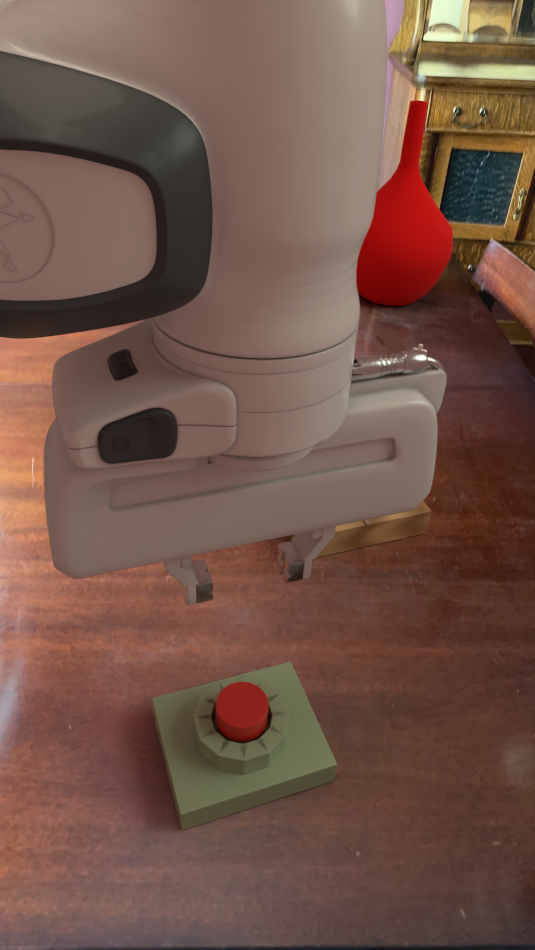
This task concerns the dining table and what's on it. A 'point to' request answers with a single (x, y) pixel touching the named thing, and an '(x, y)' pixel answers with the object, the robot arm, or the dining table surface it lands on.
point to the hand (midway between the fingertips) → (245, 584)
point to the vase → (404, 230)
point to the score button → (241, 711)
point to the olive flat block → (240, 748)
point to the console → (377, 530)
